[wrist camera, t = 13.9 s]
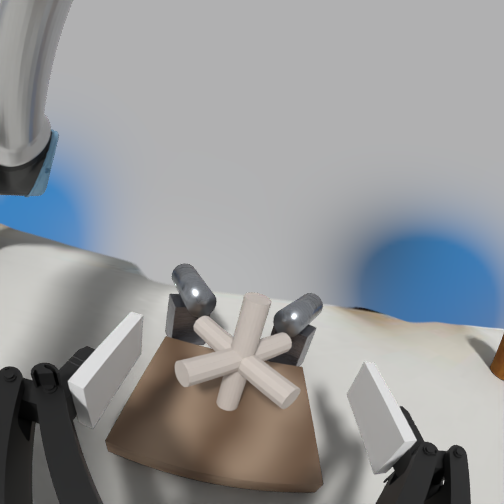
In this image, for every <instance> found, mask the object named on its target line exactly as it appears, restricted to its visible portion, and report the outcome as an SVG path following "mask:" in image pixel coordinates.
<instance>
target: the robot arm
mask: <svg viewBox="0 0 504 504" xmlns="http://www.w3.org/2000/svg"><path fill="white" fill-rule="evenodd" d="M72 2H73V0H1V3H0V195H19V196H25V197H29V196H39V195H42V194H43V193H44V192H45V190H46V187H47V184H48V179H49V175H50V169H51V166H52V162H53V158H54V154H55V150H56V146H57V142H58V138H59V134H58V132H57V131H54V130H51V126H50V122H49V119H48V118H47V116H46V115H45V114H44V108H45V101H46V96H47V90H48V84H49V79H50V74H51V69H52V65H53V61H54V57H55V53H56V49H57V46H58V42H59V39H60V36H61V32H62V29H63V26H64V23H65V20H66V18H67V15H68V12H69V9H70V7H71V4H72ZM142 326H143V315H141V314H138V313H134V312H130V313H129V314H128V315H127V316H126V317H125V318H124V319H123V321H122V322H121V323H120V324H119V325H118V326H117V327H116V328H115V329H114V330H113V331H112V332H111V333H110V334H109V336H108V337H107V338H106V339H105V340H104V341H103V342H102V343H101V344H100V345H99V346H98V347H97V349H96V350H95V349H92V348H90V347H88V346H86V347H84V348H82V349H80V350H78V351H77V352H76V353H75V354H74V355H73V357H71V358H70V359H69V361H67V362H66V363H65V365H64V366H63V367H62V368H61V369H60V370H59V371H58V369H57V368H56V367H55V366H54V365H52V364H50V363H40V364H37V365H35V366H34V367H33V368H32V370H31V376H32V379H33V381H32V380H29V379H25V378H23V377H22V374H21V372H20V371H19V370H18V369H17V368H15V367H5V368H3V369H1V370H0V504H32V456H33V442H34V432H35V424H36V423H39V424H40V430H41V436H42V441H43V446H44V451H45V455H46V459H47V463H48V467H49V471H50V475H51V478H52V481H53V485H54V488H55V491H56V494H57V497H58V500H59V503H60V504H103V503H102V500H101V498H100V496H99V494H98V492H97V489H96V487H95V485H94V482H93V480H92V477H91V475H90V472H89V470H88V467H87V464H86V462H85V459H84V456H83V453H82V450H81V447H80V444H79V440H78V437H77V434H76V430H75V427H74V423H73V419H74V418H75V417H76V415H77V418H78V421H79V423H81V424H83V425H85V426H87V427H89V428H91V429H93V428H94V427H95V425H96V424H97V422H98V420H99V419H100V417H101V415H102V414H103V412H104V411H105V409H106V407H107V406H108V404H109V403H110V401H111V399H112V398H113V396H114V395H115V393H116V392H117V390H118V388H119V387H120V385H121V384H122V382H123V381H124V379H125V378H126V376H127V374H128V373H129V371H130V370H131V368H132V367H133V365H134V364H135V362H136V361H137V359H138V358H139V356H140V355H141V348H142ZM347 397H348V400H349V402H350V405H351V408H352V411H353V414H354V416H355V419H356V422H357V425H358V428H359V431H360V434H361V437H362V439H363V442H364V445H365V448H366V451H367V454H368V457H369V460H370V463H371V467H372V470H373V473H374V474H381V473H386V472H387V471H388V470H390V469H391V468H392V467H393V468H394V470H395V471H394V472H393V473H392V474H391V475H390V476H389V477H388V478H386V479H385V480H384V483H385V482H386V481H387V480H388V482H387V484H386V486H385V487H384V489H383V491H382V493H381V495H380V497H379V498H378V500H377V502H376V504H471V499H470V480H469V469H468V460H467V454H466V451H465V450H464V448H462V447H461V446H458V445H453V446H451V447H450V449H449V450H448V451H439V450H438V449H437V447H436V446H435V445H433V444H432V443H429V442H424V440H423V438H422V436H421V434H420V432H419V431H418V429H417V427H416V425H414V424H415V423H414V421H413V420H412V418H411V416H410V414H409V412H408V411H407V410H406V409H405V408H404V407H403V406H400V407H399V405H398V403H397V402H396V400H395V398H394V396H393V394H392V392H391V391H390V389H389V387H388V385H387V384H386V382H385V380H384V378H383V376H382V375H381V373H380V371H379V369H378V368H377V366H376V364H375V363H374V362H364V363H363V365H362V367H361V369H360V371H359V373H358V374H357V376H356V378H355V380H354V382H353V384H352V386H351V387H350V389H349V391H348V393H347ZM443 480H444V485H443Z"/></svg>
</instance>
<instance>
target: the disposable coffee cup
mask: <svg viewBox="0 0 504 504" xmlns="http://www.w3.org/2000/svg"><path fill="white" fill-rule="evenodd" d="M490 369H491V371H492V372H493V374H494V375H496V376H497V377H498V378H500V379H502V380H504V334H503V337H502V340H501V342H500V345H499V348H498V350H497V352H496V355H495V357H494V360H493V362H492V364H491V366H490Z"/></svg>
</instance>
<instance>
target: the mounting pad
mask: <svg viewBox="0 0 504 504" xmlns="http://www.w3.org/2000/svg"><path fill="white" fill-rule="evenodd" d="M212 352H216V351H214V350H213V349H211V348H207V347H203V346H199V345H195V344H192V343H188V342H184V341H181V340H177V339H174V338H170V337H167V336H166V337H165V339H164V340H163V342H162V343H161V345H160V347H159V348H158V350H157V352H156V353H155V355H154V357H153V358H152V360H151V362H150V363H149V365H148V367H147V369H146V370H145V372H144V374H143V375H142V377H141V379H140V380H139V382H138V384H137V386H136V387H135V389H134V391H133V392H132V394H131V396H130V398H129V399H128V401H127V403H126V405H125V406H124V408H123V410H122V412H121V413H120V415H119V417H118V419H117V420H116V422H115V424H114V426H113V428H112V429H111V431H110V433H109V435H108V437H107V438H106V440H105V441H106V445H107V449H108V451H109V452H112V453H114V454H116V455H119V456H121V457H124V458H126V459H129V460H132V461H134V462H137V463H140V464H142V465H145V466H148V467H151V468H154V469H157V470H161V471H164V472H167V473H171V474H174V475H178V476H182V477H186V478H190V479H194V480H198V481H203V482H207V483H212V484H218V485H223V486H230V487H236V488H243V489H252V490H262V491H275V492H304V493H308V492H316V491H317V490H318V489H319V488H320V487H321V486H322V485H323V480H322V474H321V467H320V461H319V455H318V449H317V444H316V438H315V432H314V427H313V421H312V415H311V410H310V405H309V399H308V394H307V389H306V383H305V378H304V373H303V368H302V367H299V366H293V365H287V364H281V363H275V362H270V361H264V362H265V363H266V364H268V365H269V366H270V367H272V368H273V369H274V370H276V371H277V372H278V373H279V374H281V375H282V376H284V377H285V378H286V379H288V380H289V381H290V382H292V383H293V384H294V385H296V386H297V387H299V388H300V394H299V395H298V397H297V399H296V400H295V401H294V402H293V403H292V404H291V405H290V406H289V407H287V408H286V409H282V408H280V407H279V406H278V405H277V404H275V403H274V402H273V401H272V400H270V399H269V398H268V397H267V396H266V395H264V394H263V393H262V392H261V391H259V390H258V389H257V388H256V387H255V386H254V385H252V384H251V383H250V382H249V381H248V380H246V383H245V386H244V389H243V392H242V395H241V398H240V401H239V404H238V407H237V408H236V409H235V410H232V411H226V410H223V409H221V408H220V407H219V406H218V405H217V403H216V401H217V397H218V393H219V389H220V386H221V382H222V378H223V376H221V377H218V378H215V379H212V380H209V381H205V382H202V383H199V384H196V385H192V386H189V387H183V386H182V385H181V384H180V383H179V381H178V379H177V377H176V374H175V363H176V361H179V360H183V359H188V358H192V357H196V356H200V355H204V354H208V353H212Z"/></svg>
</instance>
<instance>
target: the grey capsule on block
mask: <svg viewBox="0 0 504 504" xmlns="http://www.w3.org/2000/svg"><path fill="white" fill-rule="evenodd" d="M172 280H173V282H174V284H175V286H176V288H177V290H178V292H179V294H170V295H169V303H168V311H167V320H166V329H165V331H166V334H167V337H170V338H174V339H177V340H181V341H184V342H188V343H192V344H195V345H204V343H205V341H204V340H203V339H202V338H201V337H200V336H199V335H198V334H197V333H196V332H195V331H194V327H193V326H194V324H195V322H196V321H197V320H198V319H199V318H200V317H202V316H209V317H210V313H211V312H212V311H213V310H214V308H215V306H216V297H215V295H214V294H213V293H212V291H211V290H210V289H209V288H208V286H207V285H206V283H205V282H204V281H203V280H202V278H201V277H200V275H199V274H198V273H197V271H196V270H195V269H194V267H193V266H191V265H190V264H181V265H178V266H177V267H176V268H175V269H174V270H173V273H172Z"/></svg>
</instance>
